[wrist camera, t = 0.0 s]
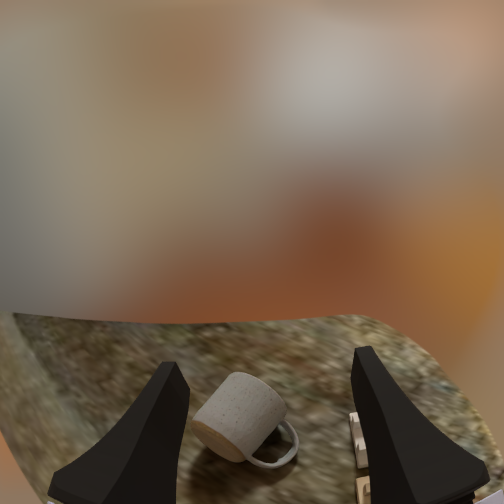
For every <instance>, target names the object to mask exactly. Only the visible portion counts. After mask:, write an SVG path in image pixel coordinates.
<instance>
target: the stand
mask: <svg viewBox="0 0 504 504" xmlns="http://www.w3.org/2000/svg"><path fill="white" fill-rule="evenodd" d="M349 421H350V426H351V432H352V437H353V443H354V448H355V454H356V460H357V466H358V469H359V468H364V467H368V459H367V451H366V446H365V442H364V438H363V434H362V430H361V426H360V422H359V418H358V414H357V412H356V413H350V415H349Z"/></svg>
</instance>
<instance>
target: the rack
mask: <svg viewBox="0 0 504 504" xmlns="http://www.w3.org/2000/svg"><path fill="white" fill-rule="evenodd" d="M355 485H356V492H357V500H358V504H370V498H371V496H370V480H369V476H366V477H361V478H356V480H355Z"/></svg>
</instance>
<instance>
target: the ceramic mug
mask: <svg viewBox="0 0 504 504" xmlns="http://www.w3.org/2000/svg"><path fill="white" fill-rule="evenodd" d="M286 411H287V408H286V405H285V403H284V401H283V400H282V398H281V397H280V396H279V395H278V394H277V393H276V392H275V391H274V390H273V389H272V388H271V387H269V386H268V385H267V384H266V383H264V382H263V381H261V380H259V379H258V378H256V377H254V376H252V375H249V374H246V373H242V372H234V373H232V374H230V375H229V376H228V377H227V379H226V380H225V381H224V382H223V383H222V385H221V386H220V387H219V388H218V389H217V390H216V391H215V393H214V394H213V395H212V396H211V397H210V399H209V400H208V401H207V402H206V403H205V404H204V405H203V406H202V407H201V409H200V410H199V411H198V412H197V413H196V415H195V416H194V418H193V420H192V422H191V430H192V432H193V433H194V434H195V436H196V437H197V438H198V439H199V440H200V441H201V442H202V443H203V444H205V445H206V446H207V447H208V448H209V449H211V450H212V451H214V452H215V453H216V454H218V455H220V456H221V457H223V458H225V459H227V460H229V461H232V462H243V461H245V460H248V461H250V462H251V463H252V464H254V465H257V466H259V467H262V468H268V469H274V468H278V467H281V466H283V465H285V464H286V463H288V462H289V461H290V460H291V459H292V458H293V457H294V456H295V455H296V453H297V451H298V449H299V439H298V435H297V433H296V431H295V430H294V428H293V427H292V426H291V425H290V424H289V423H288V422H287V421H286V420H285V419H284V417H285V415H286ZM278 424H280V425H281V426H282V427H284V429H285V430H286V431H287V432H288V434H289V435H290V437H291V439H292V443H293V445H292V448H291V450H290V451H289V452H288V453H287V454H286V455H285V456H284V457H283V458H281V459H279V460H278V461H277V462H276V463H274V464H270V463H264V462H262V461H259V460H257V459H256V458H254V457H253V456H252V454H253V453H254V452H255V451H256V450H257V449H258V448H259V446H260V445H261V444H262V443H263V441H264V440H265V439H266V438H267V437H268V436H269V435H270V434H271V433H272V431H273V430H274V429H275V428H276V426H277V425H278Z"/></svg>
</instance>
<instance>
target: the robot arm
mask: <svg viewBox="0 0 504 504" xmlns="http://www.w3.org/2000/svg"><path fill="white" fill-rule="evenodd" d="M351 385H352V391H353V398H354V403H355V406H356V410H357V414H358V418H359V422H360V426H361V430H362V434H363V438H364V442H365V446H366V451H367V459H368V468H369V480H370V496H371V504H473V501H472V500H473V499H475V494H474V491H475V490H477V489H479V488H480V487H482V486H484V485H485V484H487V483H488V482H489V481H490V477H489V474H488V470H487V468H486V466H485V464H484V461H482V460H480V459H479V458H477V457H475V456H474V455H472V454H470V453H469V452H467V451H466V450H464V449H463V448H462V447H460V446H459V445H457V444H456V443H455V442H453V441H452V440H451V439H450V438H448V437H447V436H446V435H445V434H444V433H442V432H441V431H440V430H439V429H438V428H436V427H435V426H434V425H433V424H432V423H431V422H430V421H429V420H428V419H427V418H426V417H425V416H424V415H423V414H422V413H421V412H420V411H419V410H418V409H417V408H416V406H415V405H414V404H413V403H412V402H411V401H410V400H409V398H408V397H407V396H406V395H405V394H404V392H403V391H402V390H401V389H400V387H399V386H398V385H397V383H396V382H395V381H394V379H393V378H392V377H391V375H390V374H389V372H388V371H387V370H386V368H385V367H384V365H383V364H382V362H381V361H380V359H379V358H378V356H377V355H376V353H375V351H374V350H373V348H372V347H371V346H365V347H359V348H355V352H354V359H353V365H352V372H351ZM189 397H190V388H189V386H188V384H187V383H186V381H185V379H184V377H183V375H182V373H181V371H180V369H179V367H178V365H177V364H176V362H162V363H161V364H160V365H159V367H158V368H157V370H156V371H155V373H154V374H153V376H152V377H151V379H150V380H149V382H148V383H147V384H146V386H145V387H144V389H143V390H142V392H141V393H140V394H139V396H138V397H137V398H136V400H135V401H134V403H133V404H132V405H131V406H130V408H129V409H128V410H127V411H126V413H125V414H124V415H123V416H122V418H121V419H120V420H119V421H118V422H117V423H116V425H115V426H114V427H113V428H112V429H111V430H110V431H109V432H108V433H107V434H106V435H105V436H104V437H103V438H102V439H101V440H100V441H99V442H97V443H96V444H95V445H94V446H93V447H92V448H91V449H89V450H88V451H87V452H85V453H84V454H83V455H81V456H80V457H79V458H77V459H76V460H75V461H73V462H72V463H70V464H68V465H67V466H65V467H63V468H62V469H60V470H58V471H56V472H54V475H53V478H52V481H51V484H50V487H49V490H48V493H47V494H48V496H50V497H52V498H53V499H55V500H57V501H59V502H61V503H63V504H176V480H177V466H178V457H179V452H180V447H181V442H182V438H183V433H184V428H185V424H186V419H187V414H188V408H189ZM47 504H54V503H52V502H50V501H48V502H47ZM475 504H504V495H503V491H502V490H499V491H497V492H495V493H494V494H492V495H490V496H488V497H486V498H485V499H483V500H481V501H479V502H477V503H475Z"/></svg>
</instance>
